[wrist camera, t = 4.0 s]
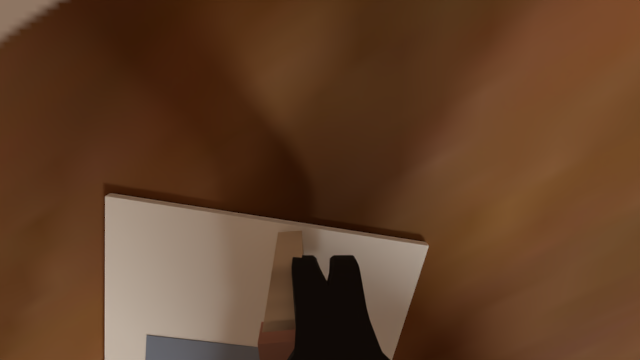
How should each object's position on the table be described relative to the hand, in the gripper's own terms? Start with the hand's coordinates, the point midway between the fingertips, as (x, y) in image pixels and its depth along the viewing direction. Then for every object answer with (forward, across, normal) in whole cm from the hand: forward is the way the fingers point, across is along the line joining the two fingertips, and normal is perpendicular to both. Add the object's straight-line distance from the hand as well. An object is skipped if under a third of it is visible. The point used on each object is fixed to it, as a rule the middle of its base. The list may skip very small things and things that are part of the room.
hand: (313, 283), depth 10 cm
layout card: (+2, +2, +4) cm, 5 cm away
